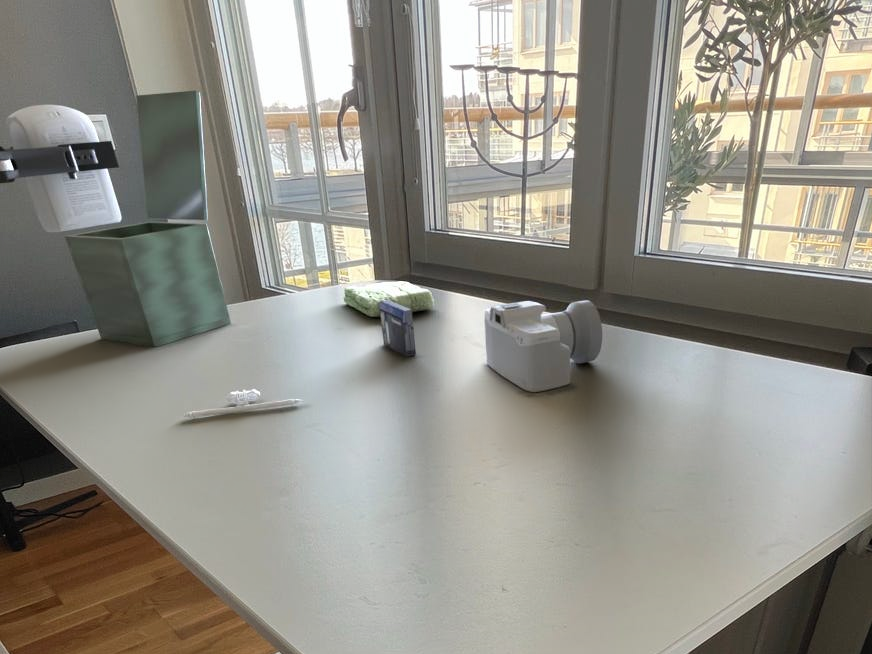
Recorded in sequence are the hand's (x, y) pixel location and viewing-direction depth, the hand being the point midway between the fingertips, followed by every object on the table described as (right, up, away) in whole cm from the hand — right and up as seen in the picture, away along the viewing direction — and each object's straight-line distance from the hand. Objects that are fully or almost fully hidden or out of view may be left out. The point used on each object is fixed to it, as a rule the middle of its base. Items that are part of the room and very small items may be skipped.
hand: (100, 154), depth 87 cm
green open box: (-5, -8, +31) cm, 33 cm away
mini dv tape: (+36, -18, +15) cm, 43 cm away
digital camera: (+57, -26, +4) cm, 63 cm away
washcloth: (+31, -1, +38) cm, 49 cm away
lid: (-1, +16, +23) cm, 28 cm away
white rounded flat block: (-2, -9, +1) cm, 9 cm away
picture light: (+19, -33, -2) cm, 38 cm away
